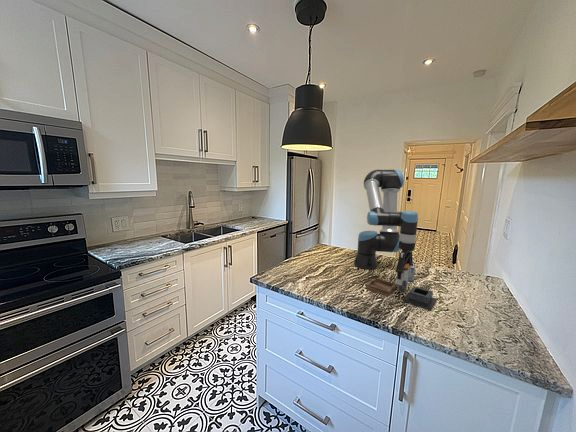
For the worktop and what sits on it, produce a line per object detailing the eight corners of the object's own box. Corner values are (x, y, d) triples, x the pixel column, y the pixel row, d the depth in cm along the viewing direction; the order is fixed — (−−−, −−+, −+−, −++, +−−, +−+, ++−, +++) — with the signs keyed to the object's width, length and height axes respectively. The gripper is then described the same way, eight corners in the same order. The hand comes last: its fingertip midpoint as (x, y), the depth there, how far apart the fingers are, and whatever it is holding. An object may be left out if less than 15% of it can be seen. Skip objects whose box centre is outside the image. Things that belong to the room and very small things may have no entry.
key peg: (399, 288, 132) (402, 261, 130) (407, 290, 130) (410, 263, 127) (397, 290, 130) (399, 263, 127) (405, 293, 127) (407, 265, 124)
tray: (374, 281, 140) (374, 277, 139) (396, 288, 132) (396, 284, 131) (365, 289, 131) (365, 284, 130) (388, 296, 123) (388, 291, 122)
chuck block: (410, 292, 127) (411, 283, 126) (436, 301, 119) (437, 291, 118) (402, 301, 118) (403, 291, 117) (430, 310, 110) (432, 300, 110)
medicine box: (398, 279, 143) (399, 265, 142) (398, 276, 147) (399, 263, 146) (413, 282, 140) (414, 268, 138) (413, 279, 144) (414, 265, 142)
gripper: (406, 236, 137) (403, 272, 140) (391, 244, 118) (387, 286, 122) (421, 238, 132) (417, 275, 135) (407, 248, 114) (403, 290, 117)
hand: (403, 280), depth 129 cm, fingers open, 13 cm apart
